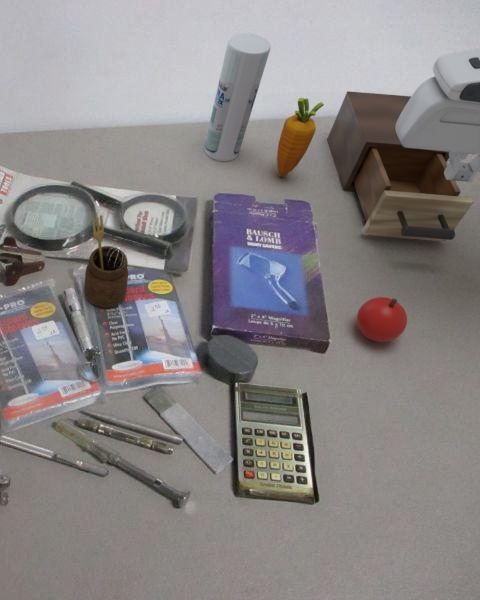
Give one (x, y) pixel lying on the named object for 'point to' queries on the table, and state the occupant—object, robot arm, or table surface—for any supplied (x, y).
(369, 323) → the apple
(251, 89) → the spray can
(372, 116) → the cabinet
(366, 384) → the table surface
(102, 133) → the table surface
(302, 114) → the carrot
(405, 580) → the table surface
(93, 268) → the utensil holder
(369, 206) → the drawer
